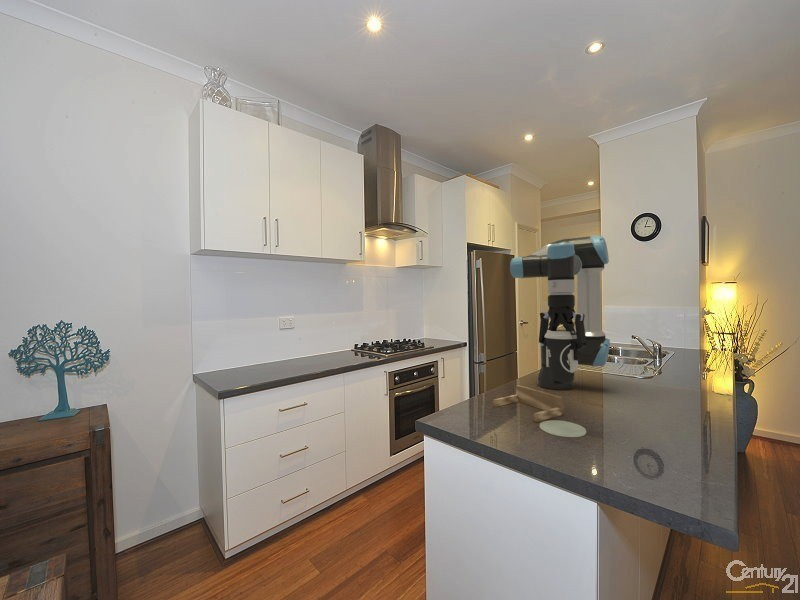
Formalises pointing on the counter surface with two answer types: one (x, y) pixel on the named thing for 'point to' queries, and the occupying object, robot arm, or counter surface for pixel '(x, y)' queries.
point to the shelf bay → (535, 402)
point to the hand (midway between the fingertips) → (561, 368)
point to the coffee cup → (559, 354)
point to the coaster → (562, 428)
